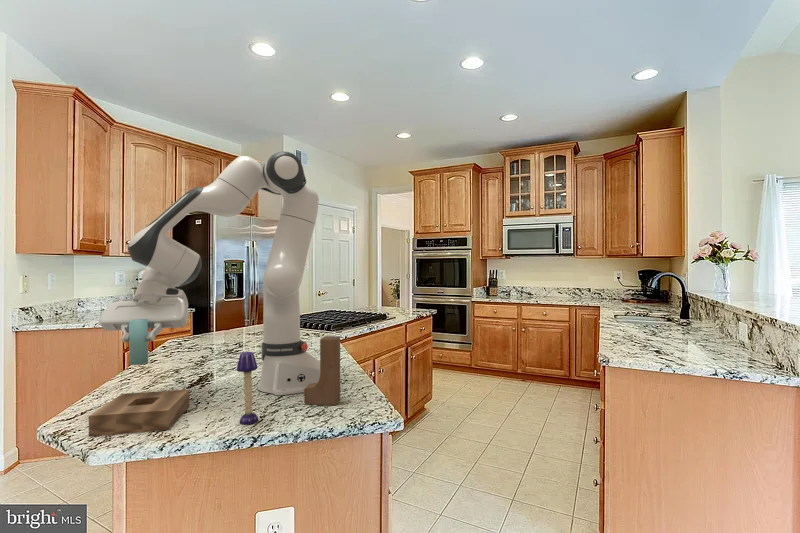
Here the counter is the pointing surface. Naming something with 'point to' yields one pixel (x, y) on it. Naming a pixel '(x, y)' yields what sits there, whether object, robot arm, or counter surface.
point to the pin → (138, 341)
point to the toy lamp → (247, 385)
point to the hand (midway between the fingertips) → (137, 340)
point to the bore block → (139, 412)
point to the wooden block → (326, 375)
